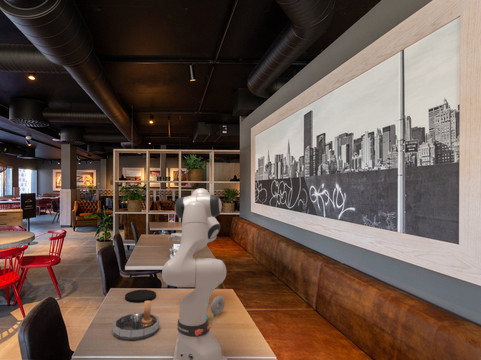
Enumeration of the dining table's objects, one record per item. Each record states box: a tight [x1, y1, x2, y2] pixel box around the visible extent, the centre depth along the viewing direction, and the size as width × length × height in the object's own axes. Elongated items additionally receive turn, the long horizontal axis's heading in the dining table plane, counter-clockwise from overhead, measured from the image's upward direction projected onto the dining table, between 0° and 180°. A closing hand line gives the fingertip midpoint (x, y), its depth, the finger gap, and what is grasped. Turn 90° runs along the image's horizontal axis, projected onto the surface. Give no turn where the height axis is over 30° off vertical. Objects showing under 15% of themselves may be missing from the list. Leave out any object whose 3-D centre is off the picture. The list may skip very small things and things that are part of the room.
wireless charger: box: [124, 289, 157, 304], centre depth 189 cm, size 18×18×2 cm
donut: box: [210, 295, 225, 316], centre depth 168 cm, size 10×4×10 cm, turn 147°
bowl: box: [112, 311, 160, 342], centre depth 147 cm, size 20×20×8 cm
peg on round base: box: [142, 301, 152, 325], centre depth 152 cm, size 5×5×10 cm
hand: (174, 240), depth 172 cm, fingers open, 8 cm apart
